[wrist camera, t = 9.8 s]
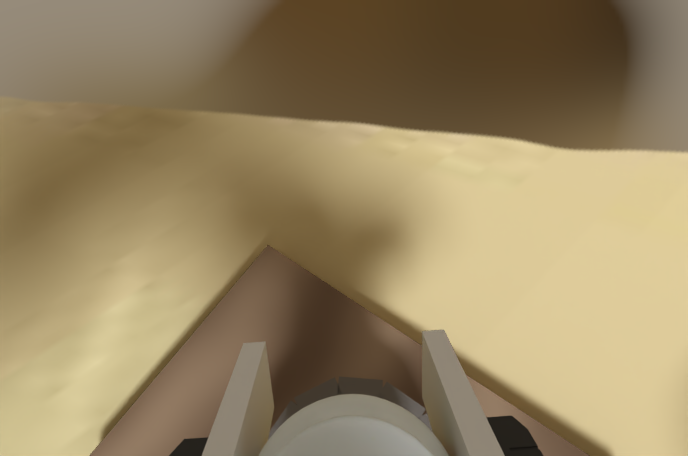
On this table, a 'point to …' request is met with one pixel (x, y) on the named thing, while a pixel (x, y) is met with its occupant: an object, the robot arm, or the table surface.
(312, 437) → the supplement bottle
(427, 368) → the robot arm
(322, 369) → the collar board
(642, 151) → the table surface
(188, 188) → the table surface
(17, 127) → the table surface
